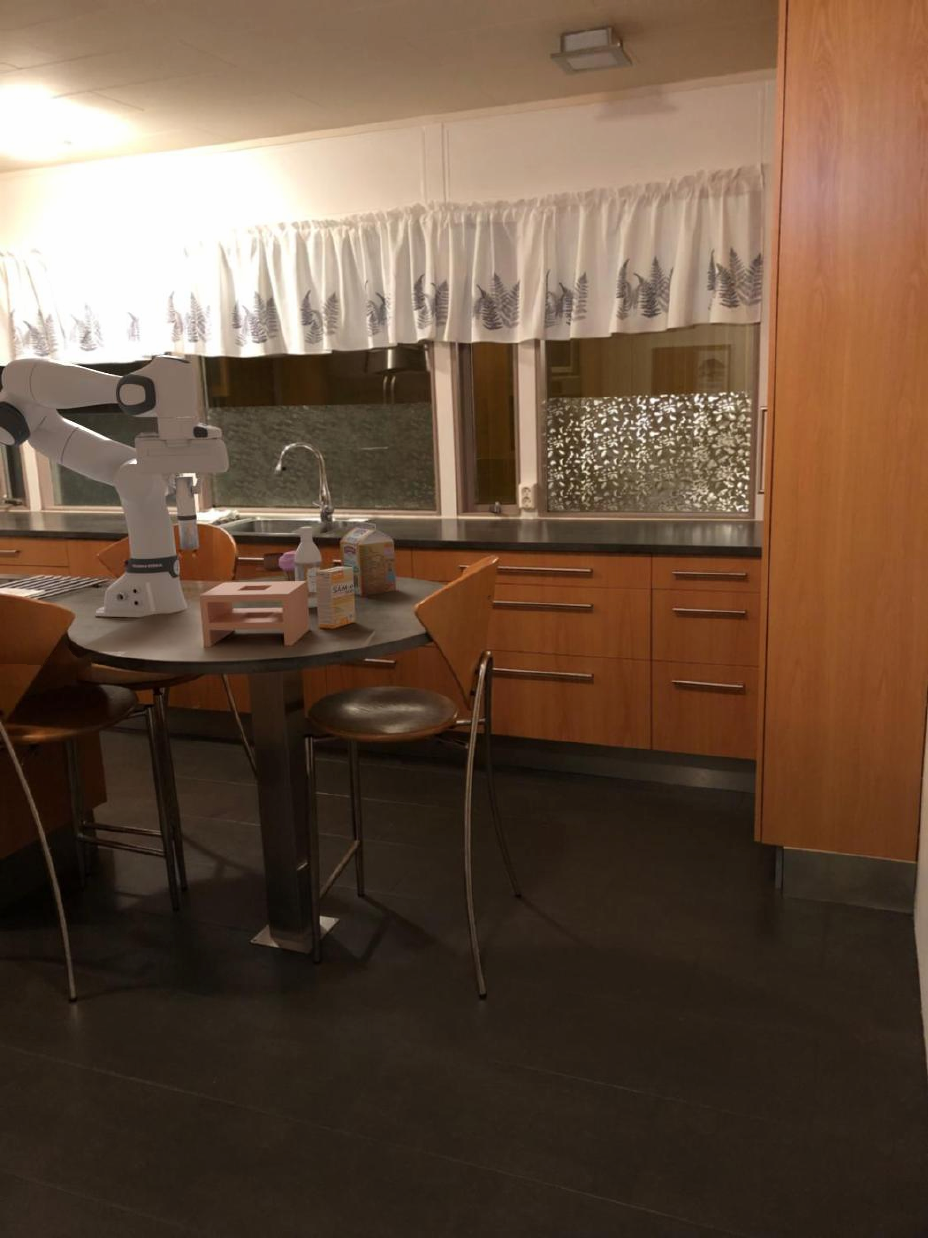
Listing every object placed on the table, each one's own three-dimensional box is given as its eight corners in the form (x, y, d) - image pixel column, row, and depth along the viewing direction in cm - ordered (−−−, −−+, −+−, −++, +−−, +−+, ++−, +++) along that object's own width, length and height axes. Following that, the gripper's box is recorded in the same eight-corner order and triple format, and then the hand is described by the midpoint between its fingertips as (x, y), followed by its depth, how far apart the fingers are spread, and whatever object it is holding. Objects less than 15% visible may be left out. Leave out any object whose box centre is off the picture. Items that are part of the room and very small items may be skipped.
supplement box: (334, 629, 221) (330, 571, 218) (317, 627, 223) (314, 570, 221) (357, 622, 228) (353, 566, 225) (340, 620, 230) (337, 565, 228)
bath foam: (304, 609, 245) (298, 529, 241) (292, 605, 251) (287, 527, 247) (329, 605, 249) (324, 527, 245) (317, 602, 255) (312, 524, 251)
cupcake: (276, 587, 279) (273, 552, 277) (286, 582, 287) (284, 548, 285) (306, 587, 277) (304, 552, 275) (315, 582, 286) (313, 548, 284)
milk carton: (396, 593, 264) (392, 522, 260) (361, 598, 258) (357, 526, 255) (376, 588, 273) (373, 519, 269) (342, 592, 267) (338, 523, 263)
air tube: (177, 549, 220) (170, 477, 216) (184, 547, 224) (177, 476, 221) (195, 549, 219) (189, 477, 216) (202, 546, 223) (195, 475, 220)
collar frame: (203, 646, 208) (199, 595, 206) (228, 630, 224) (224, 582, 222) (291, 645, 207) (288, 593, 204) (309, 628, 222) (306, 580, 220)
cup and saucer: (278, 569, 313) (276, 550, 312) (304, 572, 306) (302, 552, 304) (248, 575, 304) (247, 555, 303) (274, 578, 296) (273, 558, 295)
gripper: (127, 432, 214) (134, 496, 217) (219, 429, 212) (224, 494, 215) (139, 432, 220) (145, 494, 223) (228, 429, 219) (233, 491, 221)
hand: (185, 494), depth 219 cm, fingers closed on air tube, 4 cm apart
